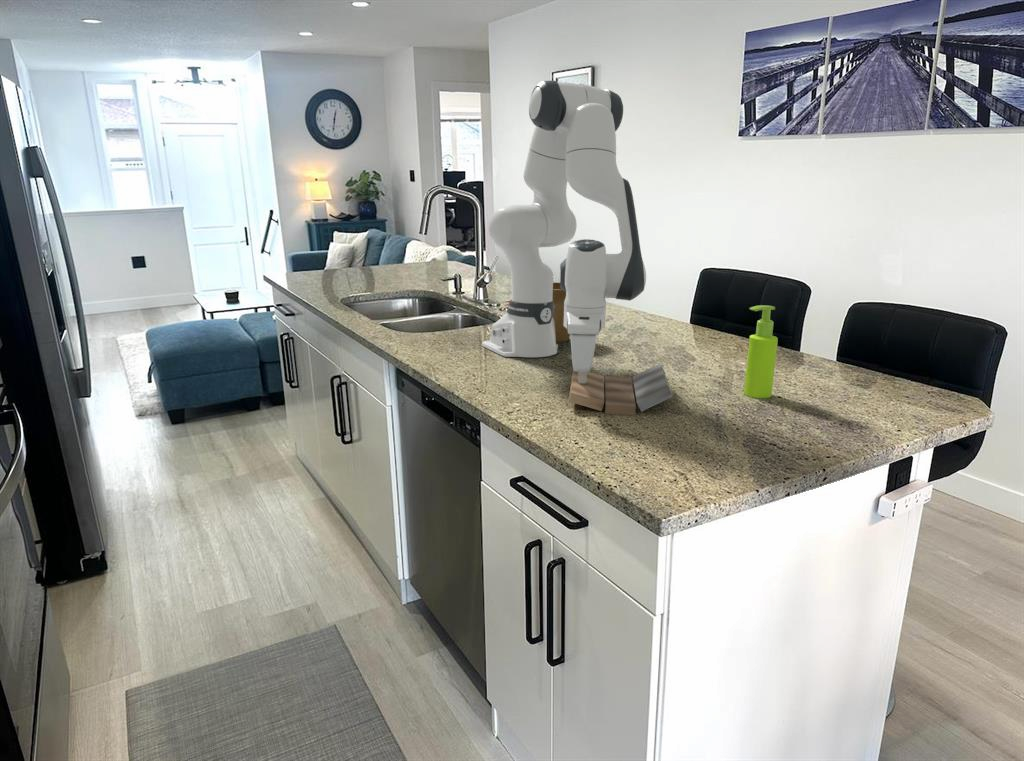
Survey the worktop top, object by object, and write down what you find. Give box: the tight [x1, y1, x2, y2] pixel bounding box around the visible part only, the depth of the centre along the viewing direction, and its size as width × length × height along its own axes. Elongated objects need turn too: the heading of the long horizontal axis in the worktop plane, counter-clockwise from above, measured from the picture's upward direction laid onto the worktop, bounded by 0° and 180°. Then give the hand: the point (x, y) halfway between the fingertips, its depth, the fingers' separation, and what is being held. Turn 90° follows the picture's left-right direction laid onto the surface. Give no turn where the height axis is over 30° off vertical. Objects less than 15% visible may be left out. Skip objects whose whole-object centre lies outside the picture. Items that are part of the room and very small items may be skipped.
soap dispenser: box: [743, 304, 779, 399], centre depth 159 cm, size 6×7×20 cm
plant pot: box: [553, 281, 570, 343], centre depth 211 cm, size 15×15×16 cm
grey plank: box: [631, 363, 674, 413], centre depth 156 cm, size 20×7×2 cm, turn 173°
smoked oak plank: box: [568, 369, 605, 412], centre depth 157 cm, size 20×7×2 cm, turn 173°
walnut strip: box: [604, 375, 637, 416], centre depth 157 cm, size 22×6×2 cm, turn 174°
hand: (582, 381), depth 157 cm, fingers closed, pressing on smoked oak plank
